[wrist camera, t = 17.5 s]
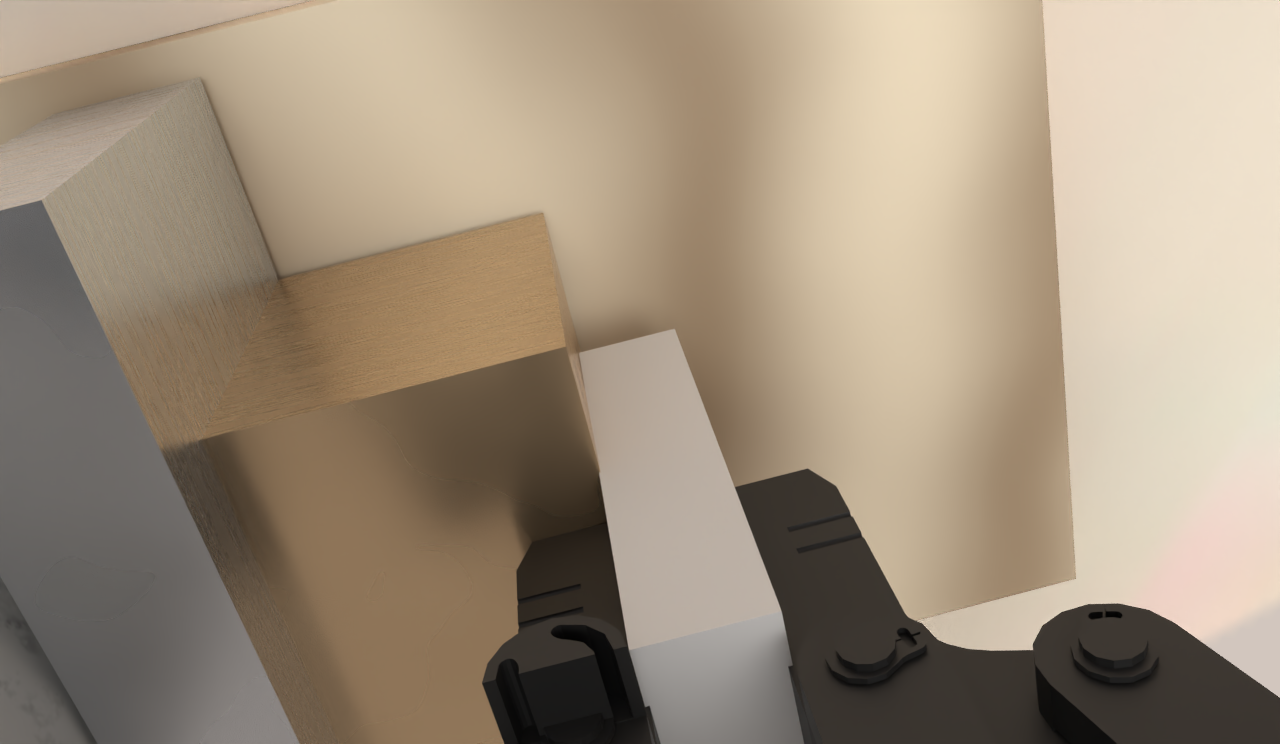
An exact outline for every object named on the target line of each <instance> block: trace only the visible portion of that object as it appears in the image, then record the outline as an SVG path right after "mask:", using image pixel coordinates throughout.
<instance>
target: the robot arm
mask: <svg viewBox="0 0 1280 744" xmlns="http://www.w3.org/2000/svg"><path fill="white" fill-rule="evenodd" d="M579 357H580V363H581V369H582V375H583V381H584V387H585V393H586V398H587V404H588V409H589V414H590V419H591V425H592V430H593V435H594V440H595V446H596V451H597V456H598V461H599V466H600V472H599V476H600V482H601V487H602V493H603V499H604V505H605V511H606V517H607V523H604V524H600V525H596V526H592V527H588V528H584V529H580V530H576V531H572V532H568V533H564V534H560V535H556V536H553V537H549V538H545V539H541V540H537V541H533V542H532V543H531V545H530V547H529V549H528V550H527V552H526V554H525V556H524V558H523V560H522V561H521V563H520V565H519V567H518V569H517V571H516V578H517V601H518V605H517V611H518V625H519V629H518V634H516V635H515V636H514V637H512V638H511V639H509V640H508V641H506V642H505V643H504V644H502V646H501V647H500V648H499V649H498V651H497V652H496V653H495V654H494V656H493V657H492V658H491V659H490V661H489V662H488V663H487V667H486V670H485V674H484V677H483V681H482V685H483V688H484V690H485V693H486V696H487V698H488V701H489V704H490V707H491V709H492V712H493V715H494V717H495V720H496V723H497V726H498V728H499V731H500V734H501V736H502V739H503V742H504V744H1280V698H1279V697H1278V696H1276V695H1275V694H1274V693H1272V692H1271V691H1269V690H1268V689H1267V688H1265V687H1264V686H1262V685H1261V684H1260V683H1258V682H1257V681H1255V680H1254V679H1252V678H1251V677H1250V676H1248V675H1247V674H1246V673H1244V672H1242V671H1241V670H1240V669H1239V668H1237V667H1235V666H1234V665H1233V664H1231V663H1230V662H1229V661H1227V660H1226V659H1224V658H1223V657H1222V656H1220V655H1219V654H1217V653H1216V652H1215V651H1213V650H1212V649H1210V648H1209V647H1208V646H1206V645H1205V644H1203V643H1202V642H1201V641H1199V640H1198V639H1196V638H1195V637H1194V636H1192V635H1191V634H1189V633H1188V632H1187V631H1185V630H1184V629H1182V628H1181V627H1180V626H1178V625H1177V624H1175V623H1173V622H1171V621H1170V620H1168V619H1166V618H1164V617H1162V616H1160V615H1158V614H1156V613H1154V612H1152V611H1150V610H1146V609H1141V608H1137V607H1132V606H1127V605H1123V604H1088V605H1085V606H1081V607H1078V608H1074V609H1071V610H1067V611H1064V612H1061V613H1060V614H1058V615H1057V616H1056V617H1054V618H1053V619H1051V620H1050V621H1049V622H1047V623H1046V624H1044V625H1043V626H1042V628H1041V630H1040V631H1039V633H1038V635H1037V637H1036V639H1035V641H1034V643H1033V650H1018V651H987V650H972V649H965V648H961V647H957V646H953V645H948V644H946V643H943V642H941V641H939V640H937V639H936V638H935V637H934V636H933V635H932V634H931V633H930V631H929V630H928V629H927V628H926V627H925V626H924V625H923V624H922V623H919V622H917V621H915V620H913V619H911V618H908V616H907V615H906V614H905V612H904V610H903V609H902V607H901V605H900V603H899V601H898V599H897V598H896V596H895V594H894V592H893V590H892V588H891V586H890V585H889V583H888V581H887V579H886V577H885V575H884V573H883V572H882V570H881V568H880V566H879V564H878V562H877V561H876V559H875V557H874V555H873V553H872V551H871V549H870V548H869V546H868V544H867V542H866V540H865V538H864V537H862V534H861V531H860V529H859V527H858V525H857V523H856V522H855V520H854V518H853V516H852V517H851V514H850V511H849V509H848V507H847V505H846V503H845V501H844V499H843V498H842V496H841V494H840V492H839V490H838V488H837V486H835V485H834V484H832V483H830V482H829V481H827V480H826V479H824V478H822V477H821V476H819V475H818V474H816V473H814V472H813V471H811V470H810V469H808V468H807V469H803V470H800V471H796V472H792V473H788V474H784V475H780V476H776V477H772V478H768V479H764V480H760V481H756V482H752V483H749V484H745V485H741V486H737V487H734V484H733V482H732V479H731V476H730V474H729V471H728V468H727V466H726V463H725V460H724V458H723V455H722V452H721V450H720V447H719V445H718V442H717V439H716V437H715V434H714V431H713V429H712V426H711V423H710V421H709V418H708V416H707V413H706V410H705V408H704V405H703V402H702V400H701V397H700V394H699V392H698V389H697V386H696V384H695V381H694V379H693V376H692V373H691V371H690V368H689V365H688V363H687V360H686V357H685V355H684V352H683V350H682V347H681V344H680V342H679V339H678V336H677V334H676V331H675V329H671V330H667V331H663V332H659V333H655V334H651V335H648V336H644V337H640V338H636V339H632V340H628V341H624V342H620V343H616V344H612V345H608V346H604V347H600V348H596V349H592V350H588V351H584V352H580V353H579Z"/></svg>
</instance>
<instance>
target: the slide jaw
mask: <svg viewBox="0 0 1280 744" xmlns="http://www.w3.org/2000/svg"><path fill="white" fill-rule="evenodd" d="M580 352H581V350H580V347H579V343H578V339H577V336H576V332H575V328H574V325H573V321H572V317H571V313H570V310H569V306H568V302H567V299H566V295H565V291H564V287H563V284H562V280H561V276H560V273H559V269H558V265H557V261H556V258H555V254H554V250H553V247H552V243H551V239H550V236H549V232H548V228H547V224H546V221H545V217H544V213H540V214H536V215H532V216H528V217H524V218H520V219H517V220H513V221H509V222H505V223H501V224H497V225H493V226H489V227H485V228H481V229H477V230H473V231H469V232H465V233H461V234H457V235H453V236H449V237H445V238H441V239H438V240H434V241H430V242H426V243H422V244H418V245H414V246H410V247H406V248H402V249H398V250H394V251H390V252H386V253H382V254H378V255H374V256H370V257H366V258H362V259H359V260H355V261H351V262H347V263H343V264H339V265H335V266H331V267H327V268H323V269H319V270H315V271H311V272H307V273H303V274H299V275H295V276H291V277H287V278H283V279H280V280H279V279H278V277H277V274H276V272H275V269H274V266H273V264H272V261H271V259H270V256H269V254H268V251H267V248H266V246H265V243H264V241H263V238H262V236H261V233H260V230H259V228H258V225H257V223H256V220H255V218H254V215H253V213H252V210H251V207H250V205H249V202H248V200H247V197H246V195H245V192H244V189H243V187H242V184H241V182H240V179H239V177H238V174H237V172H236V169H235V166H234V164H233V161H232V159H231V156H230V154H229V151H228V148H227V146H226V143H225V141H224V138H223V136H222V133H221V130H220V128H219V125H218V123H217V120H216V118H215V115H214V113H213V110H212V107H211V105H210V102H209V100H208V97H207V95H206V92H205V89H204V87H203V84H202V82H201V79H200V77H199V78H195V79H191V80H187V81H183V82H179V83H175V84H171V85H167V86H163V87H159V88H155V89H151V90H147V91H143V92H139V93H135V94H131V95H127V96H123V97H119V98H115V99H111V100H107V101H103V102H98V103H94V104H90V105H86V106H82V107H78V108H74V109H70V110H66V111H62V112H58V113H55V114H53V115H51V116H49V117H48V118H46V119H44V120H43V121H41V122H39V123H38V124H36V125H34V126H33V127H31V128H29V129H28V130H26V131H24V132H23V133H21V134H19V135H18V136H16V137H14V138H13V139H11V140H9V141H8V142H6V143H4V144H3V145H1V146H0V577H1V579H2V580H3V582H4V584H5V585H6V587H7V589H8V591H9V592H10V594H11V596H12V597H13V599H14V601H15V603H16V604H17V606H18V608H19V609H20V611H21V613H22V615H23V616H24V618H25V620H26V622H27V623H28V625H29V627H30V628H31V630H32V632H33V634H34V635H35V637H36V639H37V640H38V642H39V644H40V646H41V647H42V649H43V651H44V652H45V654H46V656H47V658H48V659H49V661H50V663H51V664H52V666H53V668H54V670H55V671H56V673H57V675H58V677H59V678H60V680H61V682H62V683H63V685H64V687H65V689H66V690H67V692H68V694H69V695H70V697H71V699H72V701H73V702H74V704H75V706H76V707H77V709H78V711H79V713H80V714H81V716H82V718H83V719H84V721H85V723H86V725H87V726H88V728H89V730H90V732H91V733H92V735H93V737H94V738H95V740H96V742H97V744H504V742H503V739H502V736H501V734H500V731H499V728H498V726H497V723H496V720H495V717H494V715H493V712H492V709H491V707H490V704H489V701H488V698H487V696H486V693H485V690H484V688H483V685H482V681H483V677H484V674H485V670H486V667H487V663H488V662H489V661H490V659H491V658H492V657H493V656H494V654H495V653H496V652H497V651H498V649H499V648H500V647H501V646H502V644H504V643H505V642H506V641H508V640H509V639H511V638H512V637H514V636H515V635H516V634H518V629H519V625H518V611H517V605H518V601H517V578H516V571H517V569H518V567H519V565H520V563H521V561H522V560H523V558H524V556H525V554H526V552H527V550H528V549H529V547H530V545H531V543H532V542H533V541H537V540H541V539H545V538H549V537H553V536H556V535H560V534H564V533H568V532H572V531H576V530H580V529H584V528H588V527H592V526H596V525H600V524H604V523H607V517H606V511H605V505H604V499H603V493H602V487H601V482H600V476H599V472H600V466H599V461H598V456H597V451H596V446H595V440H594V435H593V430H592V425H591V419H590V414H589V409H588V404H587V398H586V393H585V387H584V381H583V375H582V369H581V363H580V357H579V353H580Z"/></svg>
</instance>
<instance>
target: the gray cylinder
mask: <svg viewBox="0 0 1280 744" xmlns="http://www.w3.org/2000/svg"><path fill="white" fill-rule="evenodd" d="M0 744H97V742H96V740H95V738H94V737H93V735H92V733H91V732H90V730H89V728H88V726H87V725H86V723H85V721H84V719H83V718H82V716H81V714H80V713H79V711H78V709H77V707H76V706H75V704H74V702H73V701H72V699H71V697H70V695H69V694H68V692H67V690H66V689H65V687H64V685H63V683H62V682H61V680H60V678H59V677H58V675H57V673H56V671H55V670H54V668H53V666H52V664H51V663H50V661H49V659H48V658H47V656H46V654H45V652H44V651H43V649H42V647H41V646H40V644H39V642H38V640H37V639H36V637H35V635H34V634H33V632H32V630H31V628H30V627H29V625H28V623H27V622H26V620H25V618H24V616H23V615H22V613H21V611H20V609H19V608H18V606H17V604H16V603H15V601H14V599H13V597H12V596H11V594H10V592H9V591H8V589H7V587H6V585H5V584H4V582H3V580H2V579H1V577H0Z"/></svg>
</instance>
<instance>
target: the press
mask: <svg viewBox="0 0 1280 744" xmlns="http://www.w3.org/2000/svg"><path fill="white" fill-rule="evenodd" d="M199 77H200V79H201V82H202V84H203V87H204V89H205V92H206V95H207V97H208V100H209V102H210V105H211V107H212V110H213V113H214V115H215V118H216V120H217V123H218V125H219V128H220V130H221V133H222V136H223V138H224V141H225V143H226V146H227V148H228V151H229V154H230V156H231V159H232V161H233V164H234V166H235V169H236V172H237V174H238V177H239V179H240V182H241V184H242V187H243V189H244V192H245V195H246V197H247V200H248V202H249V205H250V207H251V210H252V213H253V215H254V218H255V220H256V223H257V225H258V228H259V230H260V233H261V236H262V238H263V241H264V243H265V246H266V248H267V251H268V254H269V256H270V259H271V261H272V264H273V266H274V269H275V272H276V274H277V277H278V279H279V280H280V279H283V278H287V277H291V276H295V275H299V274H303V273H307V272H311V271H315V270H319V269H323V268H327V267H331V266H335V265H339V264H343V263H347V262H351V261H355V260H359V259H362V258H366V257H370V256H374V255H378V254H382V253H386V252H390V251H394V250H398V249H402V248H406V247H410V246H414V245H418V244H422V243H426V242H430V241H434V240H438V239H441V238H445V237H449V236H453V235H457V234H461V233H465V232H469V231H473V230H477V229H481V228H485V227H489V226H493V225H497V224H501V223H505V222H509V221H513V220H517V219H520V218H524V217H528V216H532V215H536V214H540V213H544V217H545V221H546V224H547V228H548V232H549V236H550V239H551V243H552V247H553V250H554V254H555V258H556V261H557V265H558V269H559V273H560V276H561V280H562V284H563V287H564V291H565V295H566V299H567V302H568V306H569V310H570V313H571V317H572V321H573V325H574V328H575V332H576V336H577V339H578V343H579V347H580V350H581V352H584V351H588V350H592V349H596V348H600V347H604V346H608V345H612V344H616V343H620V342H624V341H628V340H632V339H636V338H640V337H644V336H648V335H651V334H655V333H659V332H663V331H667V330H671V329H675V331H676V334H677V336H678V339H679V342H680V344H681V347H682V350H683V352H684V355H685V357H686V360H687V363H688V365H689V368H690V371H691V373H692V376H693V379H694V381H695V384H696V386H697V389H698V392H699V394H700V397H701V400H702V402H703V405H704V408H705V410H706V413H707V416H708V418H709V421H710V423H711V426H712V429H713V431H714V434H715V437H716V439H717V442H718V445H719V447H720V450H721V452H722V455H723V458H724V460H725V463H726V466H727V468H728V471H729V474H730V476H731V479H732V482H733V484H734V487H737V486H741V485H745V484H749V483H752V482H756V481H760V480H764V479H768V478H772V477H776V476H780V475H784V474H788V473H792V472H796V471H800V470H803V469H807V468H808V469H810V470H811V471H813V472H814V473H816V474H818V475H819V476H821V477H822V478H824V479H826V480H827V481H829V482H830V483H832V484H834V485H835V486H837V488H838V490H839V492H840V494H841V496H842V498H843V499H844V501H845V503H846V505H847V507H848V509H849V511H850V514H851V517H852V516H853V518H854V520H855V522H856V523H857V525H858V527H859V529H860V531H861V534H862V537H864V538H865V540H866V542H867V544H868V546H869V548H870V549H871V551H872V553H873V555H874V557H875V559H876V561H877V562H878V564H879V566H880V568H881V570H882V572H883V573H884V575H885V577H886V579H887V581H888V583H889V585H890V586H891V588H892V590H893V592H894V594H895V596H896V598H897V599H898V601H899V603H900V605H901V607H902V609H903V610H904V612H905V614H906V615H907V616H908V618H911V619H913V620H915V621H916V620H920V619H924V618H928V617H932V616H935V615H939V614H943V613H947V612H951V611H954V610H958V609H962V608H966V607H970V606H973V605H977V604H981V603H985V602H989V601H992V600H996V599H1000V598H1004V597H1008V596H1011V595H1015V594H1019V593H1023V592H1027V591H1030V590H1034V589H1038V588H1042V587H1046V586H1049V585H1053V584H1057V583H1061V582H1065V581H1069V580H1072V579H1076V573H1075V555H1074V538H1073V521H1072V504H1071V487H1070V470H1069V453H1068V435H1067V418H1066V401H1065V384H1064V367H1063V350H1062V333H1061V315H1060V298H1059V281H1058V264H1057V247H1056V230H1055V213H1054V195H1053V178H1052V161H1051V144H1050V127H1049V110H1048V92H1047V75H1046V58H1045V41H1044V24H1043V7H1042V0H313V1H309V2H305V3H301V4H297V5H293V6H289V7H285V8H281V9H277V10H273V11H269V12H265V13H261V14H257V15H252V16H248V17H244V18H240V19H236V20H232V21H228V22H224V23H220V24H216V25H212V26H208V27H204V28H200V29H196V30H192V31H188V32H184V33H180V34H176V35H172V36H168V37H164V38H160V39H156V40H152V41H148V42H144V43H140V44H136V45H131V46H127V47H123V48H119V49H115V50H111V51H107V52H103V53H99V54H95V55H91V56H87V57H83V58H79V59H75V60H71V61H67V62H63V63H59V64H55V65H51V66H47V67H43V68H39V69H35V70H31V71H27V72H23V73H19V74H15V75H10V76H6V77H2V78H0V146H1V145H3V144H4V143H6V142H8V141H9V140H11V139H13V138H14V137H16V136H18V135H19V134H21V133H23V132H24V131H26V130H28V129H29V128H31V127H33V126H34V125H36V124H38V123H39V122H41V121H43V120H44V119H46V118H48V117H49V116H51V115H53V114H55V113H58V112H62V111H66V110H70V109H74V108H78V107H82V106H86V105H90V104H94V103H98V102H103V101H107V100H111V99H115V98H119V97H123V96H127V95H131V94H135V93H139V92H143V91H147V90H151V89H155V88H159V87H163V86H167V85H171V84H175V83H179V82H183V81H187V80H191V79H195V78H199Z"/></svg>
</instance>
